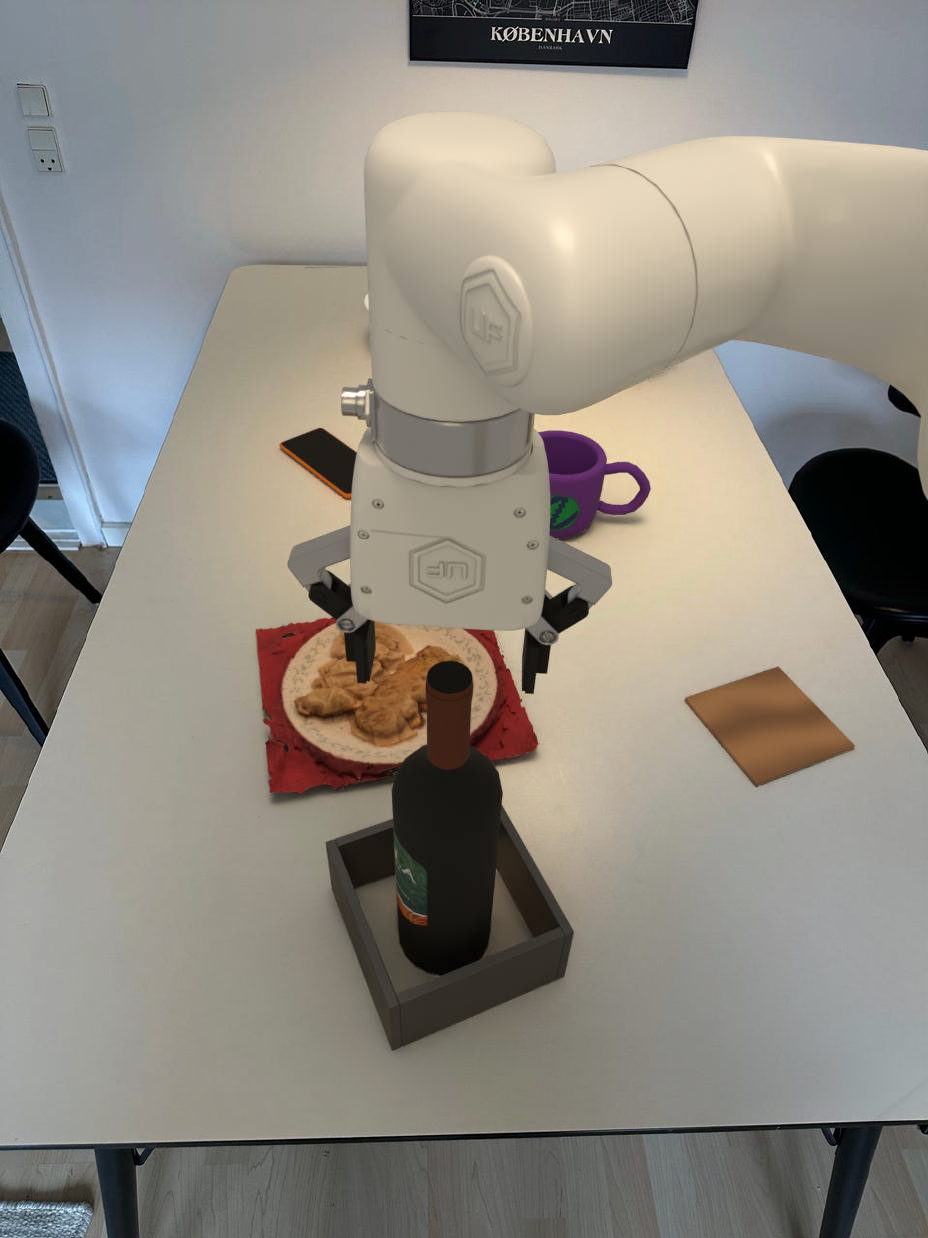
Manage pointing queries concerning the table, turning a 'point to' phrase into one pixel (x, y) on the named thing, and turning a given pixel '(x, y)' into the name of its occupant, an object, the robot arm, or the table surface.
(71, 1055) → the table surface
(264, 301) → the table surface
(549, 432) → the mug
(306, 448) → the smartphone
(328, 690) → the plate with food
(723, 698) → the cork mat
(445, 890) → the wine bottle
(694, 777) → the table surface
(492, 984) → the grey square tray frame
